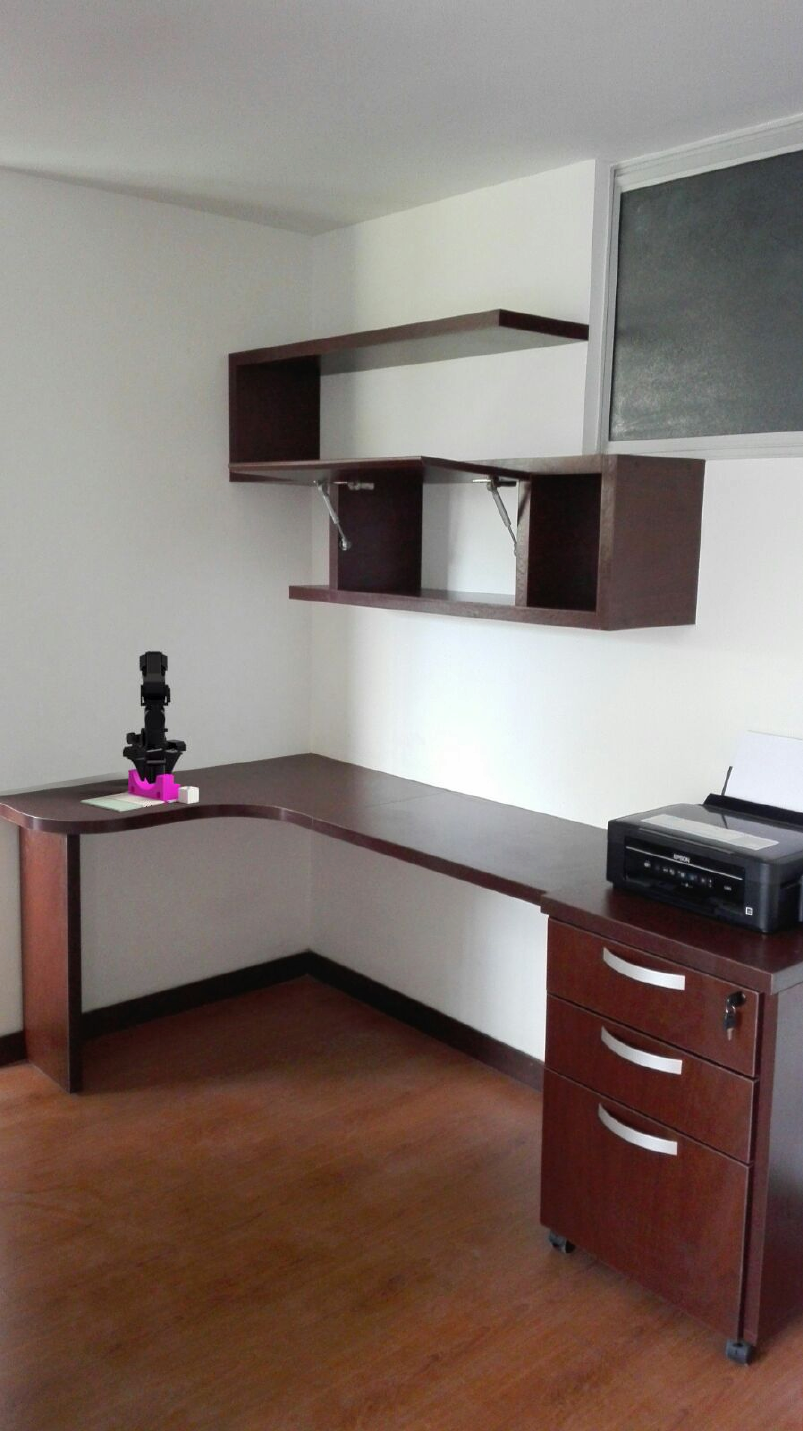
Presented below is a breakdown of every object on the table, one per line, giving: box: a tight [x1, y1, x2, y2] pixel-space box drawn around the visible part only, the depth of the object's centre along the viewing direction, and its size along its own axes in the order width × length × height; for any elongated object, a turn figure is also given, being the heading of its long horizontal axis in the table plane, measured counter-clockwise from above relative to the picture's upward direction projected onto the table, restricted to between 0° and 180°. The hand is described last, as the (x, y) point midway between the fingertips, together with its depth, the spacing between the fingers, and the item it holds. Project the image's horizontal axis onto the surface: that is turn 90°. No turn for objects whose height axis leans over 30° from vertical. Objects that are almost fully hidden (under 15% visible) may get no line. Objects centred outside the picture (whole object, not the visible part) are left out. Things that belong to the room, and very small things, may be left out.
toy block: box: [127, 768, 182, 804], centre depth 335 cm, size 15×6×8 cm, turn 52°
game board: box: [80, 790, 178, 813], centre depth 331 cm, size 22×19×1 cm
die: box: [177, 785, 200, 805], centre depth 331 cm, size 4×4×4 cm
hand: (155, 779), depth 336 cm, fingers open, 9 cm apart
